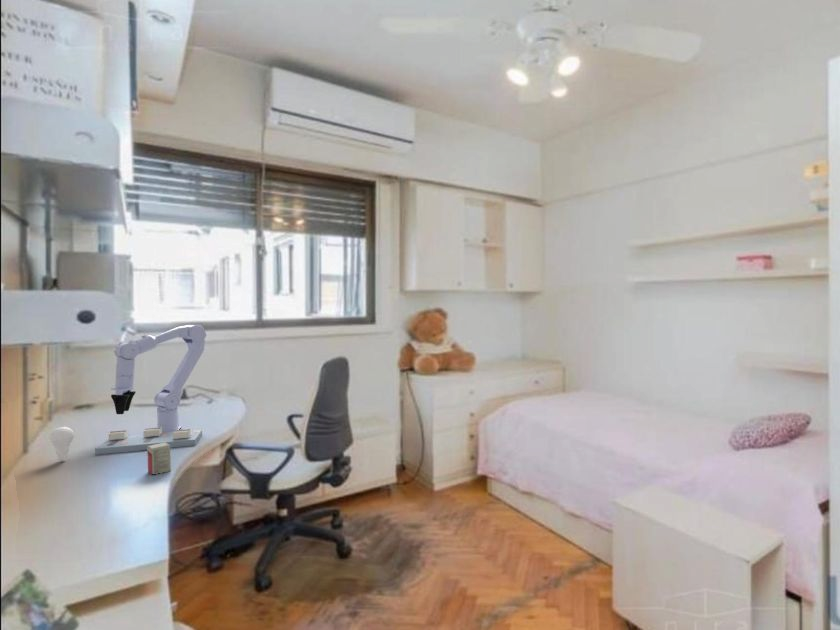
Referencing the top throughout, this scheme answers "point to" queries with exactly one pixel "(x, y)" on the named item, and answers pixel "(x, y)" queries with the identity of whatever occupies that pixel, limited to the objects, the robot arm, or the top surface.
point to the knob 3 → (181, 433)
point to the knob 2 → (152, 431)
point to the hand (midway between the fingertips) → (122, 412)
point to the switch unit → (146, 442)
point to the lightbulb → (62, 441)
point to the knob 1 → (118, 434)
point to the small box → (159, 458)
